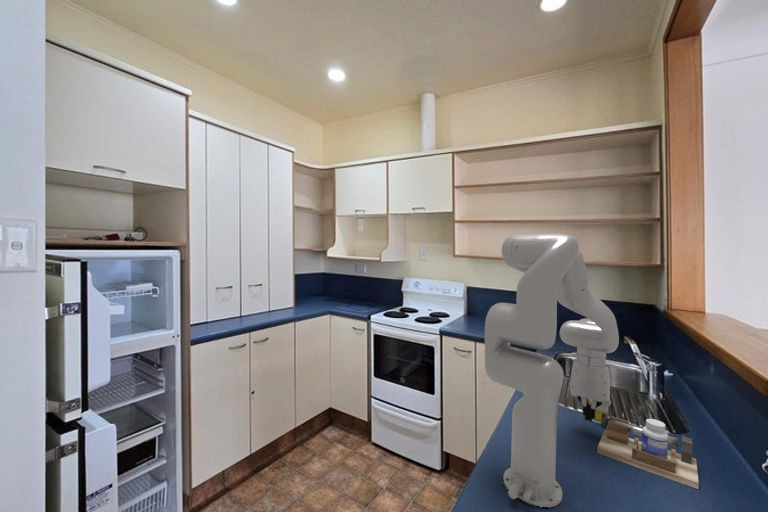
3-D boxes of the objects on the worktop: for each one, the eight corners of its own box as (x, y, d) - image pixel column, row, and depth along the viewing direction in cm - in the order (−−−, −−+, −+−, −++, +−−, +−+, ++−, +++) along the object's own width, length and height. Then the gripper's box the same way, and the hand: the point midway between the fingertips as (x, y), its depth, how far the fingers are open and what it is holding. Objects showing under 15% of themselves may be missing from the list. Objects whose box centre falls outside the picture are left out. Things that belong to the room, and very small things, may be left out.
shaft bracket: (698, 489, 79) (699, 460, 79) (597, 453, 92) (597, 428, 92) (695, 464, 88) (697, 438, 88) (604, 435, 102) (605, 412, 102)
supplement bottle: (609, 426, 107) (610, 396, 107) (589, 422, 110) (590, 393, 109) (606, 418, 112) (607, 390, 112) (587, 414, 115) (588, 387, 114)
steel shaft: (678, 454, 87) (679, 438, 87) (600, 430, 98) (601, 415, 98) (678, 447, 90) (679, 431, 90) (603, 424, 102) (603, 410, 102)
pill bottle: (641, 449, 92) (642, 414, 92) (666, 457, 89) (668, 421, 88) (640, 459, 88) (642, 422, 88) (667, 468, 84) (669, 429, 84)
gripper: (560, 356, 104) (558, 415, 105) (618, 369, 94) (616, 433, 94) (567, 351, 110) (565, 407, 110) (622, 363, 100) (620, 423, 100)
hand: (589, 419), depth 102 cm, fingers closed
